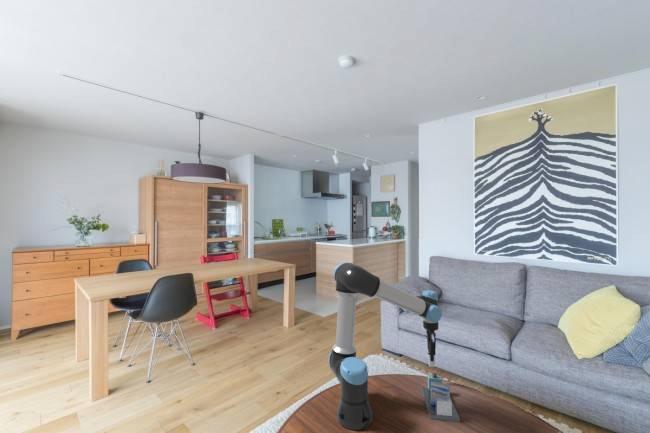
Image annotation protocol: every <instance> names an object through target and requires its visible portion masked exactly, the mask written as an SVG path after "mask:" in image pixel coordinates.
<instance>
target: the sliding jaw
mask: <svg viewBox="0 0 650 433" xmlns="http://www.w3.org/2000/svg"><path fill="white" fill-rule="evenodd" d="M432 381H433V382H437V383H441V384H443V379H442V376H441V375H438V374H437V372H436V373H435V372H432V374H431V375H429V374H427V388H428V389H429V391H431V382H432Z"/></svg>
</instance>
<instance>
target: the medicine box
mask: <svg viewBox="0 0 650 433" xmlns="http://www.w3.org/2000/svg"><path fill="white" fill-rule="evenodd" d="M450 390H451V388H450V385H449V384H445V383H442V384H441V383H437V382H433V381H432V382H431V405H434V406H436V403H435V397H442V398H450V397H451V394H450V393H451V392H450Z"/></svg>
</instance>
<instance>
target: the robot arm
mask: <svg viewBox="0 0 650 433" xmlns="http://www.w3.org/2000/svg"><path fill="white" fill-rule="evenodd" d="M333 271H334V272H333V278H334V281H335V292H336V293H337V295H338V297H337V298H338V300H337V315H336V316H337V317H336V332H335V343H334V344H333V345H332V347H331V352H329V355H328V364H329V368H330V369H331V372H332V373H333V374H334V376H335V377H336V379H337V381H338V382H339V384H340V401H339V403H338V407H337V410H336V419H337V422H338V421H339V422H338V423H339V424H340V426H342V427H343V426H344V427H343V428H345V429H348V430H351V431H360V430H361V431H362V430H365V429H367V428H368V427H370V425H371V424H372V422H373V412H372V408H371V406H370V402H369V380H368V379H369V370H368V365H367V364H366V362H365V361H364V360H363V359H361V358H358V357H357V348H356V347H355V345H354V342H355V340H354V339H355V328H356V326H355V324H356V310H357V308H356V307H357V296H358V294H361V295H364V296H367V297H368V298H374V297H375V298H377V299H380V300H381V301H384V302H387V303H388V304H391V305H393V306H396V307H398V308H400V309H402V310H403V312H404V313H406V314H407V313H410V314H411V313H412V314H413V315H417V316H418V317H420V318H422V323H423V324H422V325H423V326H422V327H423V328H424V330H425V331H426V341H427V342H426V343H427V350H428V351H427V355H428V367H429V368H435V367H436V362H435V358H436V357H435V356H436V351H437V350H436V348H437V347H436V344H437V343H436V342H437V338H436V336H437V335H436V332H435V331H438V330H439V321H441V320H442V319H441V318H442V315H443V311H442V309H441V308H440V307H439V299H438V297H439V296H438V293H437V291H435V290H431V289H426V290H423V291H422V292H421V293H422V294H421V295H413V294H412V293H411V294H410V293H409V292H406V291H405V290H403V289H400V288H398V287H396V286H393V285H391V284H389V283H386V282H384V281H382V280H381V279H380V277H379V276H376V274H373V273H371V272H370V271H368V270H366V269H365V268H363V267H362V266H359V265H356V264H354V263H352V262H342V263H340V264H338V265H337V266H336V267H335V268H334V270H333Z"/></svg>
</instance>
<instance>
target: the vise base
mask: <svg viewBox="0 0 650 433" xmlns="http://www.w3.org/2000/svg"><path fill="white" fill-rule="evenodd" d="M421 392H422V395H423V400H424V403H425V406H426V409H427V412H428V415H429V416H428V417H429V420H438V421H448V422H458V423H460V422H461V419H460V416H459V414H458V411H457V409H456V407H455V405H454V402H453V400H452V397H451V396H450V398H442V397H435V403H436V406H434V405H431V391H429V389H428V387H421Z"/></svg>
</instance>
